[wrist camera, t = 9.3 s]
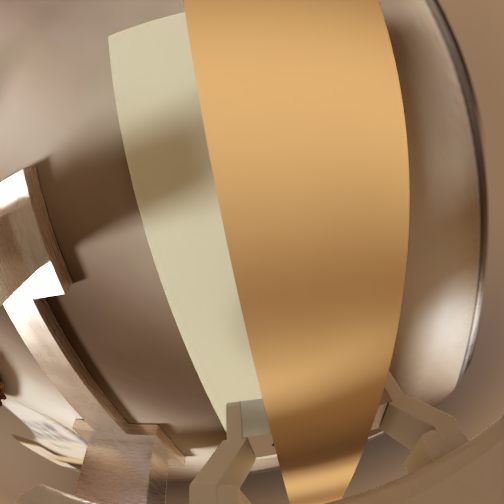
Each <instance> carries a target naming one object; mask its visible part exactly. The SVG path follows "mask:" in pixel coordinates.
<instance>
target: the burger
mask: <svg viewBox="0 0 504 504" xmlns="http://www.w3.org/2000/svg"><path fill="white" fill-rule="evenodd" d="M3 393H4V385H3V382H2V381H1V380H0V406H2V402H1V399H4V400H5V399H6V396H5V395H4V394H3Z"/></svg>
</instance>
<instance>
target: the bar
mask: <svg viewBox="0 0 504 504" xmlns="http://www.w3.org/2000/svg"><path fill="white" fill-rule="evenodd" d="M183 1H184V8H185V15H186V21H187V28H188V35H189V41H190V47H191V53H192V60H193V66H194V72H195V78H196V84H197V89H198V95H199V101H200V107H201V112H202V118H203V123H204V129H205V134H206V140H207V145H208V150H209V156H210V161H211V166H212V171H213V176H214V182H215V187H216V192H217V197H218V202H219V207H220V212H221V217H222V221H223V226H224V231H225V236H226V241H227V246H228V250H229V255H230V260H231V264H232V269H233V274H234V278H235V283H236V287H237V292H238V296H239V301H240V305H241V310H242V314H243V319H244V323H245V327H246V332H247V336H248V340H249V345H250V349H251V353H252V357H253V362H254V366H255V370H256V374H257V378H258V382H259V386H260V391H261V395H262V399H263V403H264V407H265V411H266V415H267V419H268V423H269V426H270V430H271V434H272V438H273V442H274V446H275V450H276V453H277V457H278V461H279V465H280V468H281V472H282V476H283V479H284V483H285V487H286V490H287V494H288V498H289V501H290V504H324V503H328V502H332V501H336V500H340V499H342V497H343V495H344V493H345V491H346V489H347V487H348V485H349V482H350V480H351V478H352V476H353V474H354V471H355V469H356V467H357V464H358V462H359V460H360V457H361V455H362V452H363V450H364V447H365V444H366V442H367V439H368V437H369V434H370V431H371V428H372V425H373V422H374V419H375V416H376V413H377V410H378V407H379V404H380V400H381V397H382V394H383V390H384V387H385V383H386V379H387V375H388V371H389V367H390V363H391V359H392V354H393V350H394V345H395V340H396V335H397V330H398V325H399V319H400V313H401V306H402V300H403V292H404V284H405V275H406V265H407V254H408V238H409V210H410V188H409V160H408V146H407V134H406V124H405V116H404V108H403V101H402V95H401V89H400V83H399V78H398V72H397V68H396V63H395V58H394V54H393V50H392V46H391V42H390V38H389V34H388V31H387V27H386V24H385V20H384V17H383V14H382V11H381V8H380V5H379V2H378V0H183Z"/></svg>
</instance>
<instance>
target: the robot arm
mask: <svg viewBox="0 0 504 504" xmlns="http://www.w3.org/2000/svg"><path fill="white" fill-rule="evenodd" d="M379 427H380V428H379ZM376 428H379V429H381V430H382V431H384V432H385V433H387V434H388V435H389V436H391V437H393V438H394V439H395V440H397V441H398V442H400V443H401V444H403V445H404V446H406V447H407V448H409V449H410V450H412V451H411V452H410V453H409V455H408V456H407V458H406V459H405V461H404V462H403V463H404V466H405V468H406V470H407V473H408V475H405V476H403V477H401V478H399V479H396V480H394V481H392V482H389V483H387V484H384V485H382V486H379V487H376V488H374V489H371V490H368V491H365V492H362V493H360V494H356V495H353V496H350V497H346V498H343V499H340V500H336V501H332V502H328V503H324V504H504V415H503V416H502V417H501V418H499V419H498V420H497V421H495V422H494V423H493V424H491V425H490V426H489V427H487V428H486V429H485V430H483V431H482V432H480V433H479V434H478V435H476V436H475V437H473V438H472V439H471V440H469V441H468V439H467V438H466V436H465V434H464V433H463V431H462V429H461V428H460V426H459V424H458V423H457V421H456V420H455V418H454V417H453V416H451V415H449V414H446V413H444V412H442V411H440V410H438V409H436V408H434V407H431V406H429V405H427V404H425V403H423V402H421V401H419V400H417V399H415V398H413V397H411V396H409V395H407V396H404V394H403V393H402V391H401V389H400V388H399V386H398V384H397V382H396V381H395V379H394V377H393V376H392V374H391V372H390V371H388V375H387V379H386V383H385V387H384V390H383V394H382V397H381V400H380V404H379V407H378V410H377V413H376V416H375V419H374V422H373V425H372V428H371V430H373V429H376ZM226 431H227V440H223V441H222V442H221V444H220V445H219V446H218V448H217V449H216V451H215V452H214V453H213V455H212V456H211V457H210V459H209V460H208V462H207V463H206V464H205V466H204V467H203V468H202V470H201V471H200V472H199V473H198V475H197V476H196V477H195V479H194V480H193V481H192V483H191V484H190V490H189V491H190V492H189V504H251V503H250V502H249V500H248V499H247V498H246V497H245V496H244V494H243V493H242V492H241V491H240V487H241V485H242V484H243V482H244V480H245V478H246V476H247V475H248V473H249V471H250V469H251V467H252V465H253V464H254V462H255V460H256V458H257V457H263V456H269V455H275V454H277V453H276V450H275V446H274V442H273V438H272V434H271V430H270V426H269V423H268V419H267V415H266V411H265V407H264V403H263V399H262V398H261V399H254V400H247V401H238V402H230V403H227V404H226ZM14 504H100V503H97V502H93V501H89V500H86V499H82V498H79V497H76V496H73V495H70V494H67V493H64V492H61V491H58V490H56V489H53V488H50V487H48V486H45V485H41V484H40V485H36V486H34V487H32V488H31V489H29V490H28V491H26V492H25V493H24V494H22V495H21V496H20V497H18V498H17V500H16V501H15V503H14Z"/></svg>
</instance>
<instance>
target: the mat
mask: <svg viewBox="0 0 504 504" xmlns="http://www.w3.org/2000/svg"><path fill="white" fill-rule="evenodd" d="M108 40H109V52H110V62H111V71H112V79H113V86H114V93H115V100H116V106H117V113H118V118H119V124H120V129H121V135H122V140H123V145H124V150H125V154H126V159H127V163H128V168H129V172H130V176H131V181H132V185H133V189H134V193H135V197H136V200H137V204H138V208H139V212H140V215H141V219H142V222H143V226H144V229H145V233H146V236H147V239H148V243H149V246H150V249H151V252H152V255H153V259H154V262H155V265H156V268H157V271H158V274H159V277H160V280H161V282H162V285H163V288H164V291H165V294H166V297H167V299H168V302H169V305H170V307H171V310H172V313H173V315H174V318H175V321H176V323H177V326H178V328H179V331H180V333H181V336H182V338H183V341H184V343H185V345H186V348H187V350H188V353H189V355H190V357H191V360H192V362H193V364H194V367H195V369H196V371H197V373H198V375H199V378H200V380H201V382H202V384H203V386H204V389H205V391H206V393H207V395H208V397H209V399H210V401H211V403H212V405H213V407H214V409H215V411H216V413H217V415H218V417H219V419H220V421H221V423H222V425H223V427H224V429H225V431H226V404H227V403H230V402H238V401H247V400H254V399H261V398H262V395H261V391H260V386H259V382H258V378H257V374H256V370H255V366H254V362H253V357H252V353H251V349H250V345H249V340H248V336H247V332H246V327H245V323H244V319H243V314H242V310H241V305H240V301H239V296H238V292H237V287H236V283H235V278H234V274H233V269H232V264H231V260H230V255H229V250H228V246H227V241H226V236H225V231H224V226H223V221H222V217H221V212H220V207H219V202H218V197H217V192H216V187H215V182H214V176H213V171H212V166H211V161H210V156H209V150H208V145H207V140H206V134H205V129H204V123H203V118H202V112H201V107H200V101H199V95H198V89H197V84H196V78H195V72H194V66H193V60H192V53H191V47H190V41H189V35H188V28H187V21H186V15H185V12H183V13H179V14H175V15H171V16H167V17H164V18H160V19H157V20H153V21H150V22H147V23H143V24H140V25H137V26H134V27H132V28H129V29H126V30H123V31H121V32H118V33H115V34H113V35H110V36H108ZM226 433H227V431H226ZM271 457H277V454H275V455H269V456H263V457H257V458H256V460H258V459H265V458H271Z"/></svg>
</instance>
